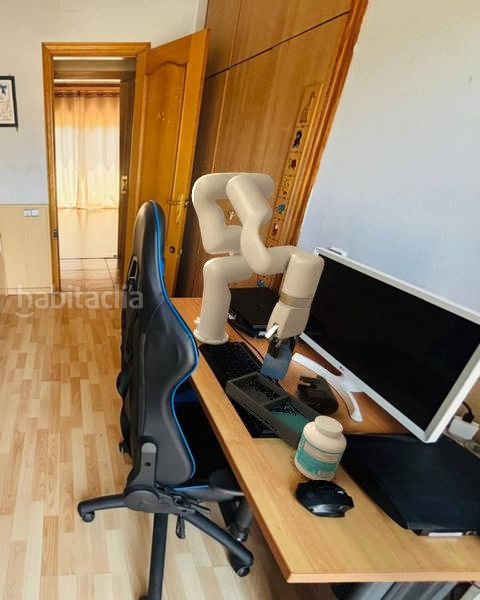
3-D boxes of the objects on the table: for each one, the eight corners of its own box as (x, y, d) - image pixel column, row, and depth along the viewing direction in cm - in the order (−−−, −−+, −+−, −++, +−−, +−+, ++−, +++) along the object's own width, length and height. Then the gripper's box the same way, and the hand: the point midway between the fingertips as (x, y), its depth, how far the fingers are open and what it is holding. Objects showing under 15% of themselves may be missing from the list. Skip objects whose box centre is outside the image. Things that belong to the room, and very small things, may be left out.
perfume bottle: (287, 370, 100) (298, 337, 95) (283, 381, 96) (294, 347, 91) (265, 363, 104) (274, 330, 99) (260, 372, 100) (269, 339, 94)
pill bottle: (305, 450, 78) (321, 406, 72) (340, 474, 72) (359, 428, 66) (286, 463, 75) (300, 418, 69) (320, 490, 69) (338, 443, 63)
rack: (225, 392, 97) (227, 381, 96) (254, 382, 101) (256, 371, 100) (294, 449, 78) (298, 436, 77) (327, 434, 82) (332, 422, 80)
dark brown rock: (335, 419, 86) (342, 399, 84) (304, 413, 89) (310, 394, 86) (323, 395, 95) (329, 376, 92) (295, 390, 97) (300, 371, 94)
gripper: (304, 288, 95) (288, 341, 103) (260, 298, 90) (247, 353, 97) (331, 298, 89) (311, 353, 97) (285, 310, 83) (268, 368, 91)
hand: (279, 353), depth 97 cm, fingers closed on perfume bottle, 5 cm apart
